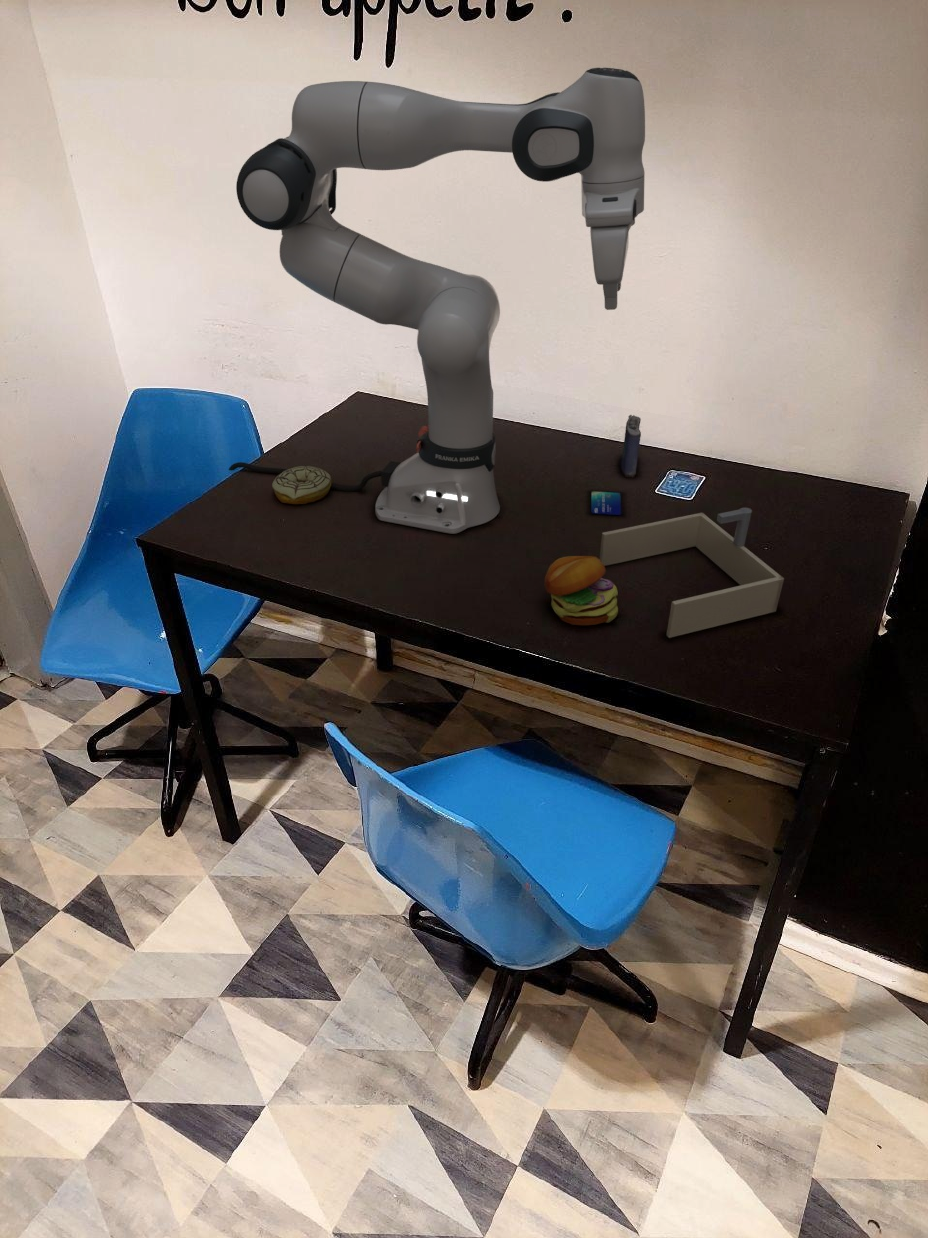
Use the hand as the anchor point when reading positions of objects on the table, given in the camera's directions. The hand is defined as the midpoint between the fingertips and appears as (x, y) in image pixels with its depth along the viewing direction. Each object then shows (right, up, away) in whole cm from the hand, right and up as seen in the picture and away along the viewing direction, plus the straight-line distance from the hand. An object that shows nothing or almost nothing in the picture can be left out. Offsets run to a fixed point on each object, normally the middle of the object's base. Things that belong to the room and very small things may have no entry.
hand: (613, 298), depth 134 cm
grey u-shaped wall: (+12, -44, +5) cm, 45 cm away
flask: (+10, -19, +40) cm, 46 cm away
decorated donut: (-53, -25, +31) cm, 66 cm away
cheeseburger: (-5, -47, 0) cm, 48 cm away
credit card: (+3, -27, +28) cm, 39 cm away
